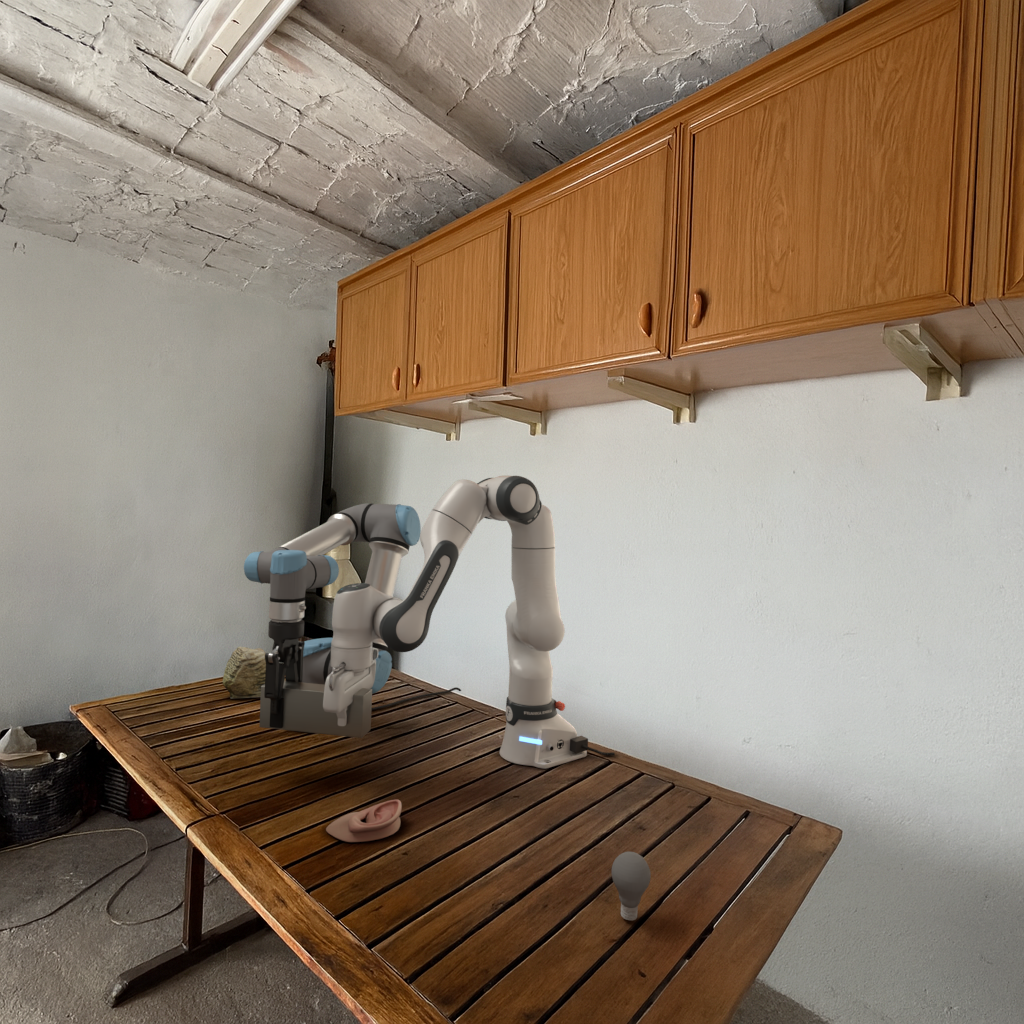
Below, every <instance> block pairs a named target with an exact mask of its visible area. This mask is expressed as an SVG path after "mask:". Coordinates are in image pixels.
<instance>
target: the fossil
mask: <svg viewBox="0 0 1024 1024" xmlns="http://www.w3.org/2000/svg"><path fill="white" fill-rule="evenodd" d="M266 653H267V652H265V650H264V649H263V648H260V647H258V648H251V647H247V646H246V647H245V646H238V647H237V648H236V649H235V650H233V651H232V653H231V656H230V657H229V659H228V660H227V663H226V666H225V668H224V671H223V675H222V676H223V677H222V685H223V687H224V688H225V690H226V691H228V693H229V698H230V699H250V698H261V686H262V685H264V684H265V672H266V662H265V654H266ZM284 681H286V678H285V679H284Z"/></svg>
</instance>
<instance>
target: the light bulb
mask: <svg viewBox="0 0 1024 1024" xmlns="http://www.w3.org/2000/svg"><path fill="white" fill-rule="evenodd" d="M651 875H652V874H651V869H650V867H649V864H648V862H647V861H646V859H645V858H644V857H643V856H642V855H640V854H639V853H637V852H634V851H624V852H622V853H620V854H618V856H616V857H615V859H614V860H613V863H612V865H611V877H612V878H611V879H612V882H613V885H614V886H615V888H616V890H617V892H618V897H619V902H620V916H621V917H622V918H623V919H624V920H627V921H635V920H637V919H638V909H639V907H638V906H639V905H640V903H641V899H642V897H643V895H644V893H645V892H646V890H647V889H648V888H649V885H650V883H651V877H652V876H651Z"/></svg>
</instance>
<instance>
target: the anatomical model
mask: <svg viewBox="0 0 1024 1024" xmlns="http://www.w3.org/2000/svg"><path fill="white" fill-rule="evenodd" d="M402 808H403V804H402V802H401V800H399V799H391V800H387V801H383V802H380V803H377V804H374V805H372V806H370V807H367V808H365V809H362V810H360V811H353V812H350V813H347V814H344V815H342V816H340V817H338V818H337V819H335V820H333V821H332V822H330V823H329V825H327V826H326V828H325V832H326V833H327V834H329V835H330V836H332V837H333V838H335V839H338V840H340V841H342V842H345V843H360V842H361V843H363V842H371V841H375V840H381V839H384V838H387V837H389V836H392V835H394V834H395V833H397V832H398V831H399V829H400V827H401V824H402V823H401V817H400V816H401V813H402Z"/></svg>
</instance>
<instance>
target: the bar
mask: <svg viewBox="0 0 1024 1024" xmlns="http://www.w3.org/2000/svg"><path fill="white" fill-rule="evenodd" d="M324 688H325V685H324V684H313V683H302V682H291V681H284V685H283V691H282V697H281V698H284V705H283V727H282V728H272V727H270V701H271V700H270V698H265V697H264V692H265V684H264V685H262V686H261V697H259V698H260V701H259V728H262V729H263V728H265V729H271V730H272V729H273V730H274V729H275V730H281V731H291V732H299V733H300V732H301V733H311V734H320V735H329V736H339V737H347V738H358V739H363V738H364V736H366V735H367V734H368V733H370V731H371V729H372V710H371V709H372V708H373V706H372V704H373V694H372V689H367V688H362V689H360V690H359V691H358V692H356V693H355V694H354V695H353V702H352V703H351V704H350V705H349V706H347V710H346V714H347V716H348V723H347V724H346V725H345V726H339V725H338V717H337V715H336V713H331V712H325V711H324V709H323V698H324Z"/></svg>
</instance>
